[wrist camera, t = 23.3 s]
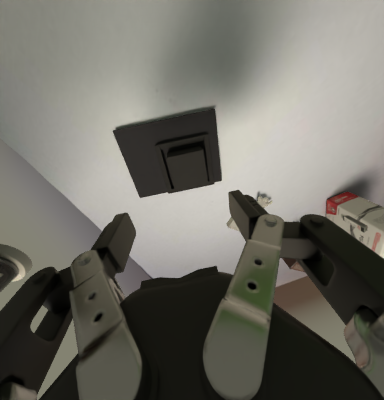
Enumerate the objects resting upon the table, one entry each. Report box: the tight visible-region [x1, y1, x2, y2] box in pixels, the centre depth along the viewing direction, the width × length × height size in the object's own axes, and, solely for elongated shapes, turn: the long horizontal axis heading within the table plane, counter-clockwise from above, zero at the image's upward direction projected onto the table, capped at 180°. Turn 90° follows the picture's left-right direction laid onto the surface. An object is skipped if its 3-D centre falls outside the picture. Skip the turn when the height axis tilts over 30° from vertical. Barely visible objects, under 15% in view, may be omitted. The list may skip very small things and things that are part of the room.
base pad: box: [113, 109, 222, 198], centre depth 26 cm, size 16×12×2 cm
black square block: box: [166, 146, 208, 191], centre depth 25 cm, size 6×6×4 cm
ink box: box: [326, 192, 384, 258], centre depth 31 cm, size 9×5×12 cm, turn 24°
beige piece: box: [227, 196, 272, 231], centre depth 33 cm, size 7×12×2 cm, turn 154°
